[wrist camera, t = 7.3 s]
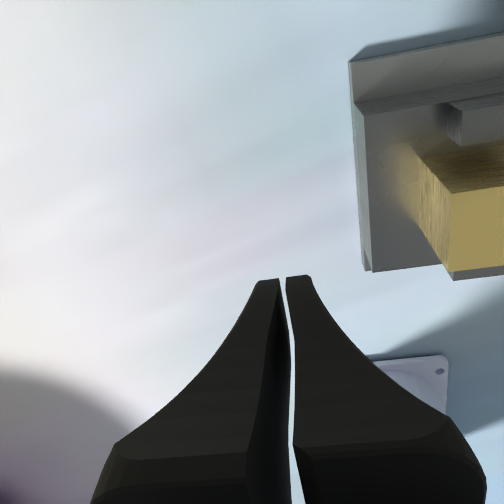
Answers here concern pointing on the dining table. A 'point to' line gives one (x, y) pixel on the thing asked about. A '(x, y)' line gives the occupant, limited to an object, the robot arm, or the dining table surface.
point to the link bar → (464, 207)
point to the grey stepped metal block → (419, 138)
